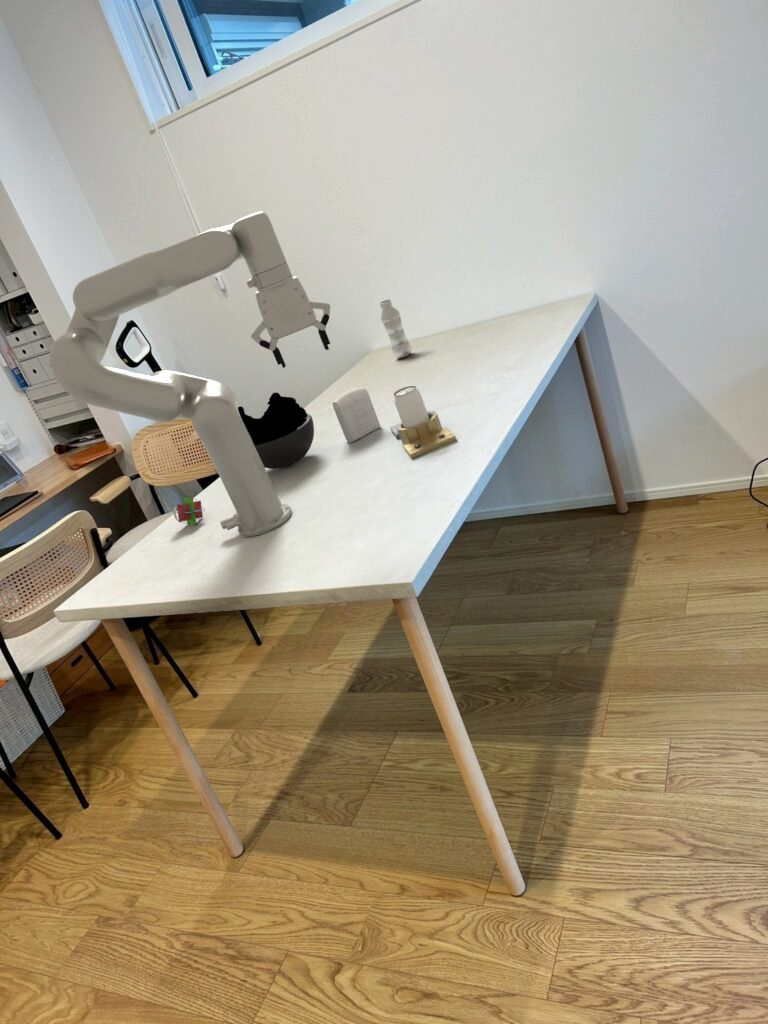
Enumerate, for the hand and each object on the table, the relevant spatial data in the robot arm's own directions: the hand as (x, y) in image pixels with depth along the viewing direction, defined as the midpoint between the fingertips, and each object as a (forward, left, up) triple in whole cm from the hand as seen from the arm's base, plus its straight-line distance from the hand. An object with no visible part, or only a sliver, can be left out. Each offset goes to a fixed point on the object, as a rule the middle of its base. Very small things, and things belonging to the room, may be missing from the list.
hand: (305, 357), depth 163 cm
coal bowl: (-14, +35, -31) cm, 48 cm away
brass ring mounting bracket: (+19, +15, -30) cm, 39 cm away
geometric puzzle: (-40, +20, -31) cm, 54 cm away
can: (+19, +15, -31) cm, 39 cm away
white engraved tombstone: (+7, +35, -31) cm, 47 cm away
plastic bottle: (+33, +104, -31) cm, 113 cm away
